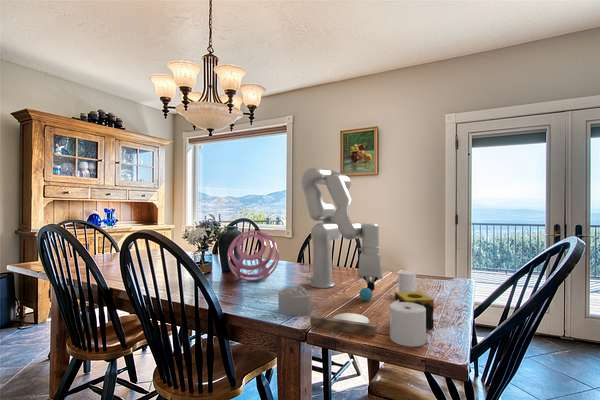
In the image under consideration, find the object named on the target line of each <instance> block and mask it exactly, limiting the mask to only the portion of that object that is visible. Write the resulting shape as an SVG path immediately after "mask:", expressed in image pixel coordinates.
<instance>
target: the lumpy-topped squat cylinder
mask: <svg viewBox="0 0 600 400" xmlns="http://www.w3.org/2000/svg"><path fill="white" fill-rule="evenodd" d="M277 295H278V296H277V297H278V299H277V300H278V303H277V306H278V307H277V310H278V312H279V313H282V314H284V315H287V316H291V317H292V316H294V317H304V316H310V315H311V314H312V297H311V296H312V294H311V292H310V291H308V290H306V288H305V287H304V286H299V287H298V288H296V287H294V286H290V287H287V288H286V287H285V288H283V289H282V290H280V291H278V292H277Z"/></svg>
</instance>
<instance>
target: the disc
mask: <svg viewBox="0 0 600 400" xmlns="http://www.w3.org/2000/svg"><path fill="white" fill-rule="evenodd" d="M332 318H334V319H341V320H347V321H354V322H361V323H368V324H370V320H369V318H368V317H367V316H365V315H363V314H358V313H353V312H352V313H351V312H346V313H345V312H344V313H338V314H336V315H334V316H333V317H332Z"/></svg>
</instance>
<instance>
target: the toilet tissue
mask: <svg viewBox="0 0 600 400" xmlns="http://www.w3.org/2000/svg"><path fill="white" fill-rule="evenodd" d="M390 338H391V339H390ZM389 339H390V341H392V342H393V343H395V344H398V345H401V346H404V347H420V346H423V345H426V343H427V329H426V308H425V307H424V306H422V305H419V304H415V303H410V302H399V300H396V301H395V300H394V301H392V302H391V303H390V305H389Z"/></svg>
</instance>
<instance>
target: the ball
mask: <svg viewBox="0 0 600 400" xmlns="http://www.w3.org/2000/svg"><path fill="white" fill-rule="evenodd" d="M358 294H359V297H360V299H361V300H362V301H364V302H369V301H370V300H371V299H372V298H373V294H374V293H373V292H372V291H371V290H370V289H369V288H367V287H363V288H361V289H360V290H359V293H358Z"/></svg>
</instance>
